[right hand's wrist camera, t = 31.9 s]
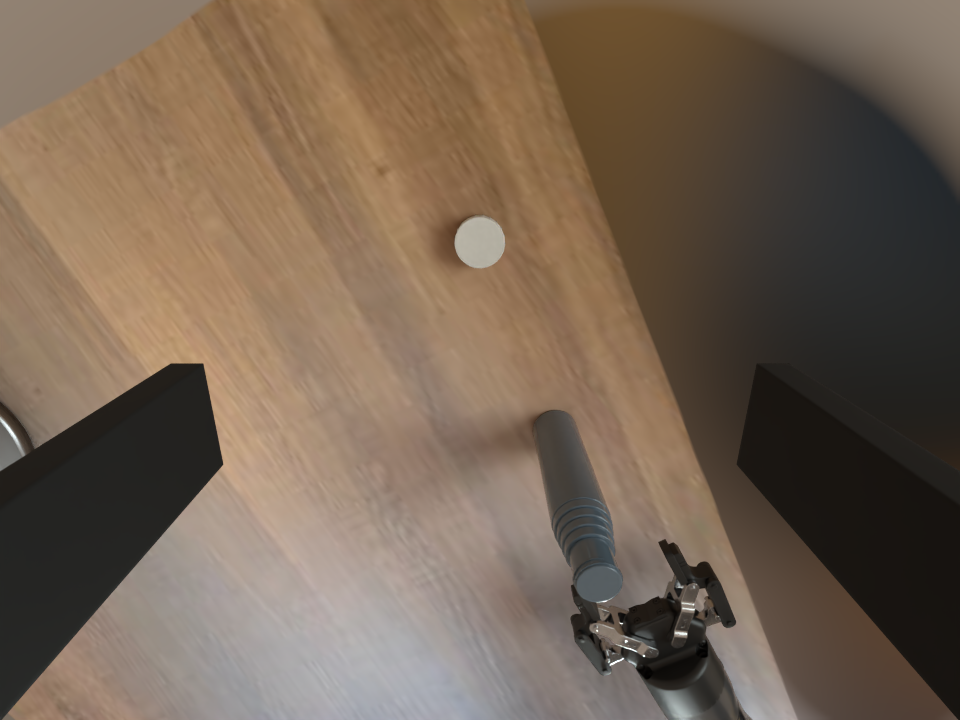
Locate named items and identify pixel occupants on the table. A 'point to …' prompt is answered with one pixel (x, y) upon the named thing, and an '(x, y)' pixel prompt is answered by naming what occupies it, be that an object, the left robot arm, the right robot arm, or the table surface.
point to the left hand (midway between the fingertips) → (620, 565)
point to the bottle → (577, 507)
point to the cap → (479, 241)
